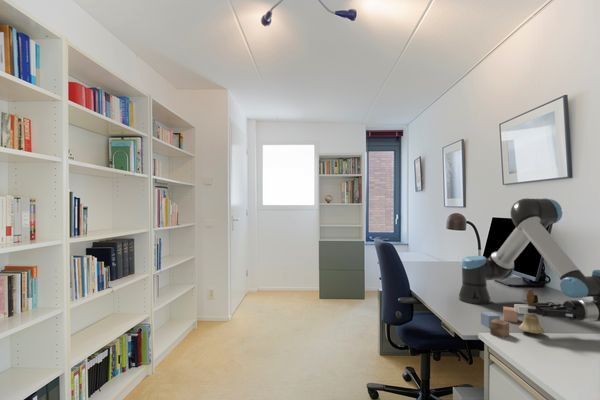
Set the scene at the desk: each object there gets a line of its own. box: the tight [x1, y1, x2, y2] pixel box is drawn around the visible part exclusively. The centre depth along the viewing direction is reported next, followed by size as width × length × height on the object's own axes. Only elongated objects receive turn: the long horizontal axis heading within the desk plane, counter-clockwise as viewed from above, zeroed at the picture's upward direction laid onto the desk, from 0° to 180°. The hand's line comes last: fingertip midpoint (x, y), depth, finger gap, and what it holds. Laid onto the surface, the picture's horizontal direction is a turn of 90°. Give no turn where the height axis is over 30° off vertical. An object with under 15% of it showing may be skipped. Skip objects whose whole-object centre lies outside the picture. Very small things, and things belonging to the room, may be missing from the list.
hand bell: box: [518, 288, 545, 334], centre depth 131 cm, size 8×8×16 cm
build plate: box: [523, 293, 540, 303], centre depth 176 cm, size 12×7×5 cm, turn 179°
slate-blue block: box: [480, 311, 501, 329], centre depth 140 cm, size 5×5×5 cm
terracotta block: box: [502, 306, 518, 323], centre depth 147 cm, size 5×5×5 cm
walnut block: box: [489, 319, 510, 339], centre depth 130 cm, size 5×5×5 cm
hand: (516, 308), depth 131 cm, fingers closed on hand bell, 2 cm apart
